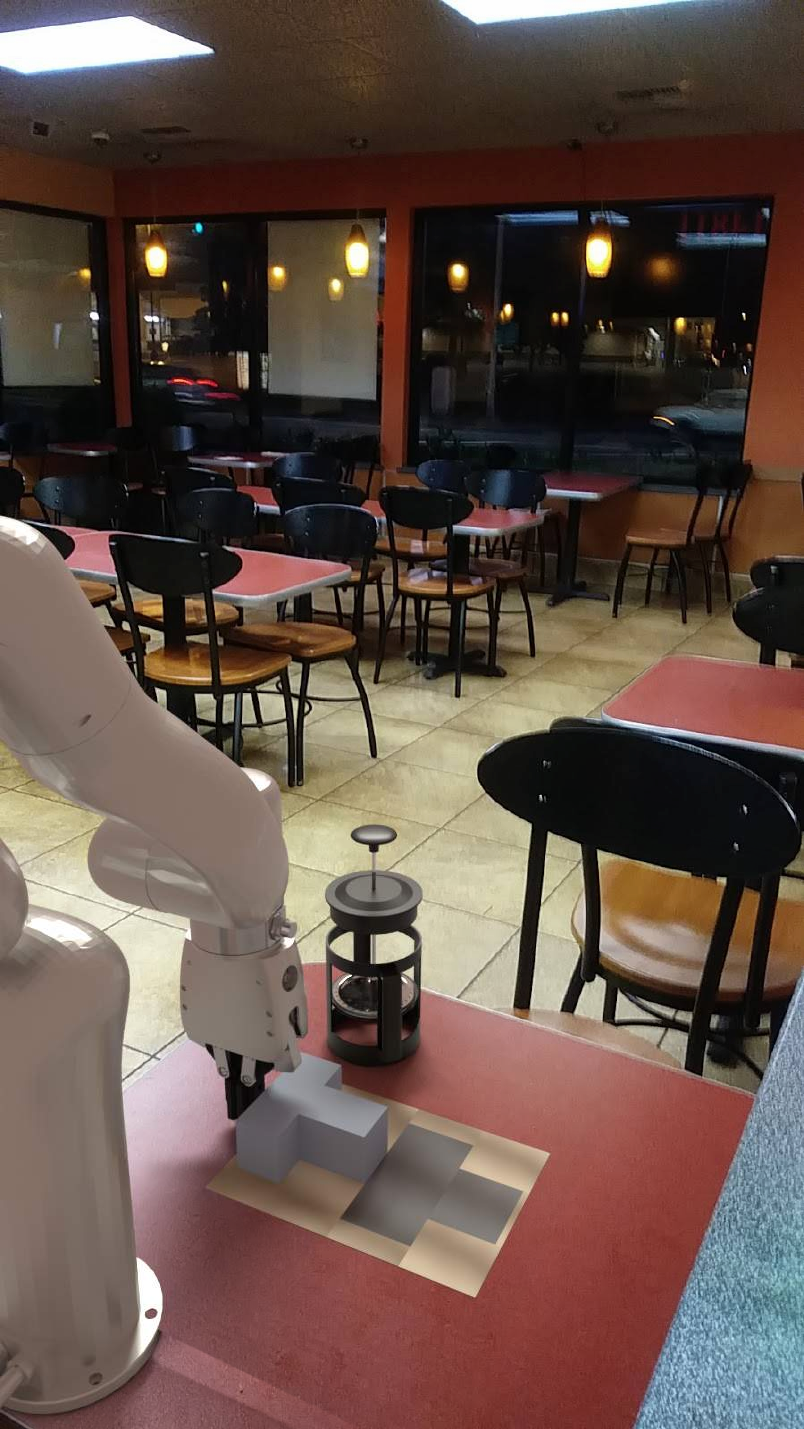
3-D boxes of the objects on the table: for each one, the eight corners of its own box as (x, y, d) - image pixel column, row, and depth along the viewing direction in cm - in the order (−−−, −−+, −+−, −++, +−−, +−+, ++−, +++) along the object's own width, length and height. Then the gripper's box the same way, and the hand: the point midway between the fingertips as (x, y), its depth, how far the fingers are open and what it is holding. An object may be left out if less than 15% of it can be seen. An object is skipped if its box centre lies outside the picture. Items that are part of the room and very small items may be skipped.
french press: (314, 1024, 107) (310, 812, 100) (404, 1009, 109) (406, 802, 102) (341, 1098, 96) (339, 867, 89) (440, 1080, 99) (446, 854, 92)
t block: (345, 1209, 82) (345, 1161, 81) (237, 1167, 86) (235, 1120, 85) (403, 1130, 91) (404, 1085, 89) (302, 1095, 95) (301, 1052, 93)
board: (474, 1310, 75) (475, 1297, 75) (205, 1199, 85) (205, 1187, 84) (549, 1165, 88) (550, 1153, 88) (310, 1083, 98) (310, 1072, 98)
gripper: (342, 921, 86) (344, 1111, 91) (189, 882, 92) (200, 1063, 98) (293, 966, 79) (298, 1168, 85) (132, 921, 85) (147, 1112, 91)
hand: (246, 1111), depth 91 cm, fingers closed
